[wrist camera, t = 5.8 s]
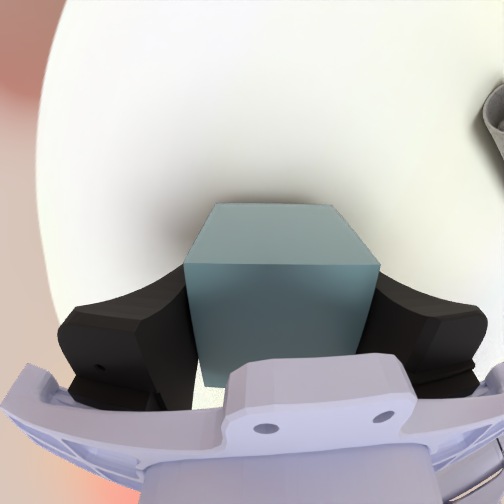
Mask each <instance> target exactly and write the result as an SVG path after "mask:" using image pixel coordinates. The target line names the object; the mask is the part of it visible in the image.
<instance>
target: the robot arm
mask: <svg viewBox="0 0 504 504" xmlns="http://www.w3.org/2000/svg"><path fill="white" fill-rule="evenodd" d="M487 326H488V321H487V318H486V316H485V314H484V313H483V312H482V311H481V310H480V309H479V308H478V307H477V306H474V305H468V304H462V303H456V302H451V301H447V300H443V299H439V298H436V297H433V296H430V295H427V294H424V293H421V292H419V291H416V290H414V289H412V288H410V287H407V286H405V285H403V284H401V283H399V282H397V281H395V280H393V279H392V278H390V277H388V276H386V275H385V274H383V273H381V272H380V271H379V274H378V278H377V282H376V286H375V290H374V294H373V298H372V301H371V305H370V309H369V312H368V316H367V319H366V322H365V326H364V329H363V332H362V335H361V338H360V341H359V344H358V347H357V350H356V353H355V355H347V356H334V357H317V358H285V359H267V360H261V361H255V362H249V363H247V364H245V365H243V366H242V367H240V368H239V369H237V370H235V371H234V372H232V373H230V376H229V378H228V381H227V384H226V387H225V395H224V403H223V407H218V408H209V409H197V410H192V401H193V392H194V385H195V378H196V371H197V365H198V359H199V357H198V352H197V347H196V341H195V336H194V330H193V325H192V319H191V313H190V307H189V300H188V294H187V287H186V280H185V273H184V265H183V264H182V265H181V266H179V267H178V268H176V269H175V270H173V271H172V272H170V273H169V274H167V275H166V276H164V277H162V278H161V279H159V280H157V281H156V282H154V283H152V284H150V285H148V286H146V287H144V288H142V289H139V290H137V291H134V292H132V293H129V294H127V295H124V296H121V297H118V298H115V299H111V300H108V301H104V302H100V303H95V304H89V305H83V306H77V307H75V308H74V309H73V311H72V312H71V313H70V314H69V316H68V317H67V318H66V319H65V321H64V322H63V323H62V325H61V326H60V327H59V329H58V333H57V336H58V342H59V345H60V347H61V349H62V352H63V354H64V355H65V357H66V359H67V361H68V362H69V364H70V366H71V367H72V369H73V371H74V372H75V374H76V376H75V378H74V380H73V382H72V383H71V385H70V387H69V389H67V388H64V387H61V386H59V385H58V382H57V381H56V379H55V378H54V376H53V375H52V374H51V373H50V372H49V371H47V370H45V369H43V368H40V367H38V366H35V365H33V364H30V363H27V365H26V366H25V368H24V369H23V370H22V372H21V373H20V375H19V376H18V378H17V379H16V381H15V382H14V384H13V385H12V387H11V389H10V390H9V392H8V393H7V395H6V397H5V398H4V400H3V401H2V403H1V405H0V409H1V410H2V411H3V412H4V413H5V414H6V415H7V417H8V418H9V419H10V420H11V421H12V422H13V423H14V424H15V425H16V426H17V427H19V429H20V430H21V431H22V432H23V433H25V434H26V435H27V436H28V437H29V438H30V439H31V440H32V441H33V442H34V443H36V444H37V445H39V446H41V447H42V448H44V449H46V450H48V451H49V452H51V453H53V454H55V455H57V456H59V457H61V458H62V459H64V460H66V461H68V462H70V463H72V464H74V465H76V466H78V467H80V468H82V469H84V470H86V471H89V472H91V473H93V474H95V475H97V476H100V477H102V478H104V479H107V480H109V481H112V482H114V483H117V484H119V485H122V486H125V487H128V488H131V489H133V490H136V491H139V492H141V494H140V499H139V503H138V504H501V499H502V497H503V496H504V455H503V453H504V362H502V363H500V364H497V365H496V366H494V367H493V368H492V369H491V370H490V372H489V373H488V374H487V376H486V378H485V380H484V381H481V382H479V381H478V379H477V377H476V376H475V374H474V372H473V371H472V369H474V368H475V363H474V362H473V360H472V358H473V356H474V354H475V353H476V351H477V349H478V348H479V346H480V344H481V342H482V341H483V338H484V336H485V334H486V330H487ZM502 451H503V452H502ZM501 468H503V469H502V471H501V472H500V473H499V474H498V475H497V476H495V477H494V478H492V479H491V480H489V481H488V482H487V483H485V484H483V485H482V486H480V487H478V488H477V489H475V490H474V491H472V492H470V493H469V494H467V495H465V496H463V497H461V498H459V499H457V500H455V501H449V500H451V499H453V498H455V497H457V496H459V495H460V494H462V493H464V492H466V491H468V490H469V489H471V488H473V487H474V486H476V485H478V484H479V483H481V482H482V481H484V480H486V479H487V478H488V477H490V476H492V475H493V474H494V473H496V472H497V471H499V470H500V469H501Z"/></svg>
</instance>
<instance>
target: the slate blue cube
mask: <svg viewBox="0 0 504 504" xmlns="http://www.w3.org/2000/svg"><path fill="white" fill-rule="evenodd" d="M183 265H184V273H185V280H186V287H187V294H188V300H189V307H190V313H191V319H192V325H193V330H194V336H195V341H196V347H197V352H198V357H199V362H200V367H201V372H202V376H203V381H204V386H205V387H218V388H225V387H226V384H227V381H228V378H229V376H230V373H232V372H234V371H235V370H237V369H239V368H240V367H242V366H243V365H245V364H247V363H249V362H255V361H261V360H267V359H285V358H317V357H334V356H347V355H355V353H356V350H357V347H358V344H359V341H360V338H361V335H362V332H363V329H364V326H365V322H366V319H367V316H368V312H369V309H370V305H371V301H372V298H373V294H374V290H375V286H376V282H377V278H378V274H379V270H380V265H381V264H380V263H379V262H378V260H377V259H376V258H375V257H374V255H373V254H372V253H371V251H370V250H369V249H368V248H367V246H366V245H365V244H364V243H363V241H362V240H361V239H360V238H359V236H358V235H357V234H356V233H355V232H354V230H353V229H352V228H351V227H350V226H349V224H348V223H347V222H346V221H345V220H344V218H343V217H342V216H341V215H340V214H339V213H338V211H337V210H336V209H335V208H334V207H333V206H332V205H316V204H279V203H216V204H215V206H214V208H213V210H212V211H211V213H210V215H209V217H208V218H207V220H206V222H205V224H204V226H203V227H202V229H201V231H200V233H199V235H198V236H197V238H196V240H195V242H194V244H193V246H192V247H191V249H190V251H189V253H188V255H187V257H186V259H185V260H184V262H183Z"/></svg>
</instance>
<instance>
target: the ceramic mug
mask: <svg viewBox="0 0 504 504" xmlns="http://www.w3.org/2000/svg"><path fill="white" fill-rule="evenodd" d="M483 119H484V122H485V124H486V126H487V128H488V130H489V131H490V133H491V135H492V137H493V139H494V141H495V143H496V145H497V147H498V149H499V151H500V153H501V155H502V157H503V159H504V84H502V85H500V86H499V87H497V88H496V89H495V90H494V91H493V92H492V93H491V94H490V96H489V97H488V98H487V100H486V102H485V104H484V107H483Z"/></svg>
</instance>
